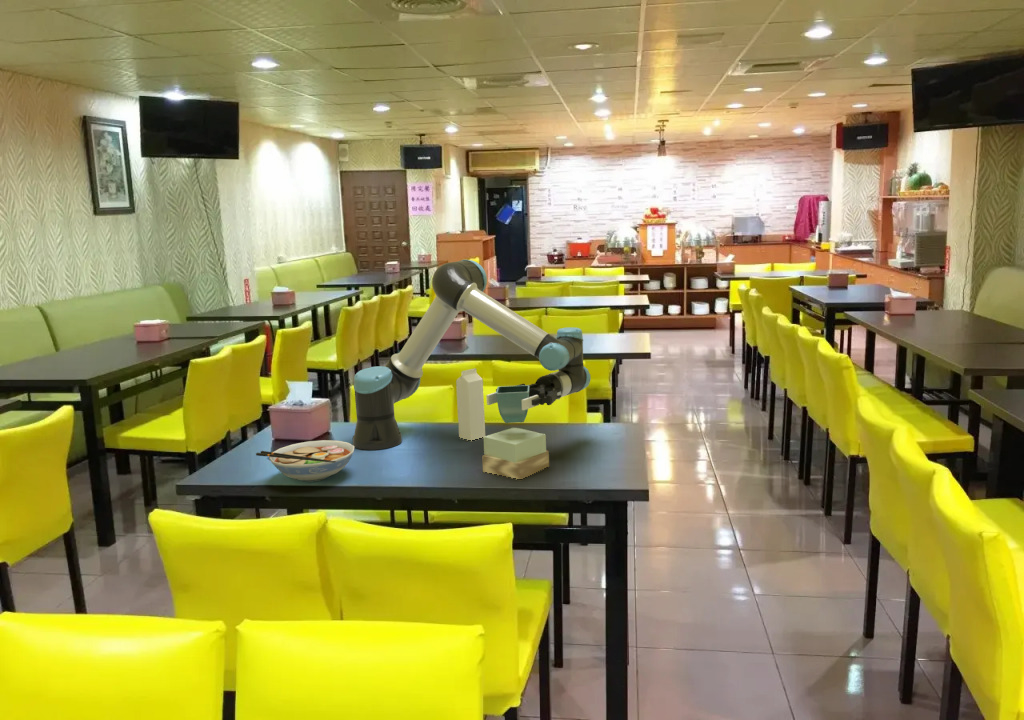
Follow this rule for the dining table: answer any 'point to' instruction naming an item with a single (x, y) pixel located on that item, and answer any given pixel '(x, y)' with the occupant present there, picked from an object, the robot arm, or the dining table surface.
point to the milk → (470, 405)
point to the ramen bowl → (311, 459)
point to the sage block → (514, 444)
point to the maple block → (515, 466)
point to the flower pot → (512, 402)
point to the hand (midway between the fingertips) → (504, 402)
